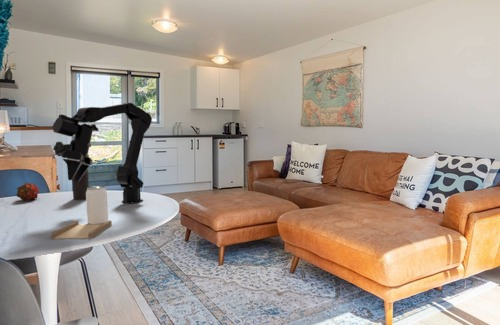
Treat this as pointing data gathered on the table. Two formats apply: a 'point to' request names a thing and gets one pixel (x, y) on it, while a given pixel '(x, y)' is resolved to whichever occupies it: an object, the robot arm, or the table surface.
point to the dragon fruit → (27, 191)
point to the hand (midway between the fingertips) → (73, 180)
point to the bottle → (80, 187)
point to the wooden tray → (80, 230)
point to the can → (96, 205)
